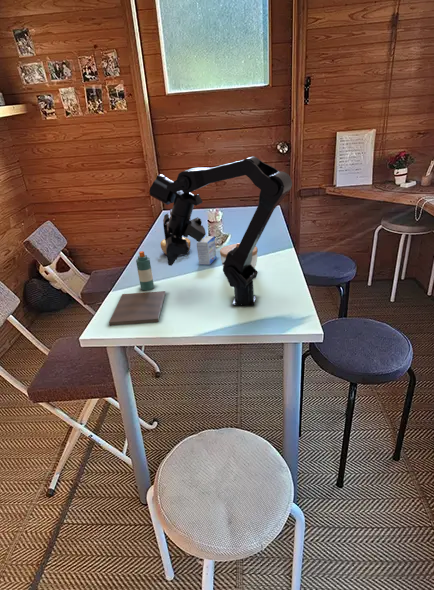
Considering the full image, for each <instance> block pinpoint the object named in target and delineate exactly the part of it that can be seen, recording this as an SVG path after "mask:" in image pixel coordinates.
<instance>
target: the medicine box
mask: <svg viewBox="0 0 434 590" xmlns="http://www.w3.org/2000/svg"><path fill="white" fill-rule="evenodd" d="M196 250H197V258H198V265H200V266H201V265H202V266H210V265H211V264H212V263H213V262H214V261H215V260H216V259H217V249H216V238H215V235H205V236H204V237H203V238H202V240H201V241H200V242H198V241H196Z"/></svg>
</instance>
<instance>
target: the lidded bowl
mask: <svg viewBox="0 0 434 590" xmlns="http://www.w3.org/2000/svg"><path fill="white" fill-rule="evenodd" d="M239 245H240V242H236V243H233V244H232V243H231V244H228V245H224V246H223V247H221V248H220V250H219V254H220V262H221V265H222V263H223V262H224V261H225V260H226V256H227V253H228V252H229V251H231V250H232V249H234V248H235V247H236V246H237V247H239ZM257 264H258V247H257V245H256V246H255V248H254V250H253V253H252V261H251V265H252V266H253V267H254V268H255V269H256V266H257ZM223 266H224V265H222V267H223Z"/></svg>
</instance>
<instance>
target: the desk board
mask: <svg viewBox="0 0 434 590" xmlns="http://www.w3.org/2000/svg"><path fill="white" fill-rule="evenodd" d="M166 294H167V292H166V290H158V291H145V292H133V293H122V294H121V296H120V298H119V300H118V302H117V305H116V307H115V309H114V311H113V313H112V315H111V317H110V318H109V321H108V324H109V326H119V325H134V324H135V325H136V324H148V323H159V321H160V317H161V313H162V309H163V306H164V302H165V298H166Z"/></svg>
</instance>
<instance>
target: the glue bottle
mask: <svg viewBox="0 0 434 590" xmlns="http://www.w3.org/2000/svg"><path fill="white" fill-rule="evenodd" d="M135 263H136V269H137V276H138V281H139V286H140V289H141V290H142V291H151V290H153V289H154V288H155V285H154V277H153V276H154V275H153V271H152V265H151V259H150V257H148V255H146V254H145V251H144V250H142V251H139V252H138V256H137V258H136V260H135Z"/></svg>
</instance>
